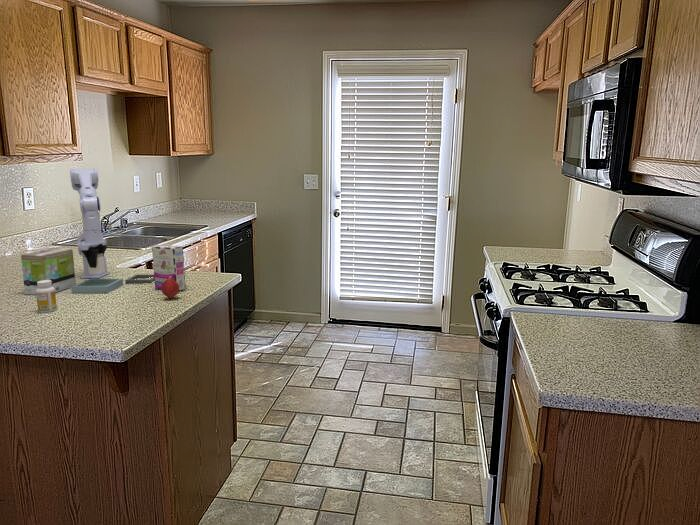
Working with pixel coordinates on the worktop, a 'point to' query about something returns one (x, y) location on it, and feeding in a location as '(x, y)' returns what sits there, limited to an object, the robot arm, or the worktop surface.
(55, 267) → the tea box
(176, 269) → the candy bar box
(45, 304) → the supplement bottle
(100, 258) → the tan rectangular block
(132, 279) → the socket collar
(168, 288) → the onion
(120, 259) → the worktop surface
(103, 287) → the parts tray
